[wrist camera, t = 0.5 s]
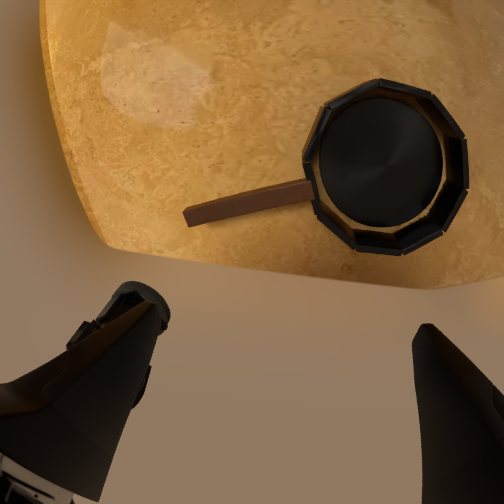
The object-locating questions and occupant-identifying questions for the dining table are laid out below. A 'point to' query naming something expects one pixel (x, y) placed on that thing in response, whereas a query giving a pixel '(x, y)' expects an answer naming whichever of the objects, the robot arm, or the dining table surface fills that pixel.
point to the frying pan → (370, 171)
